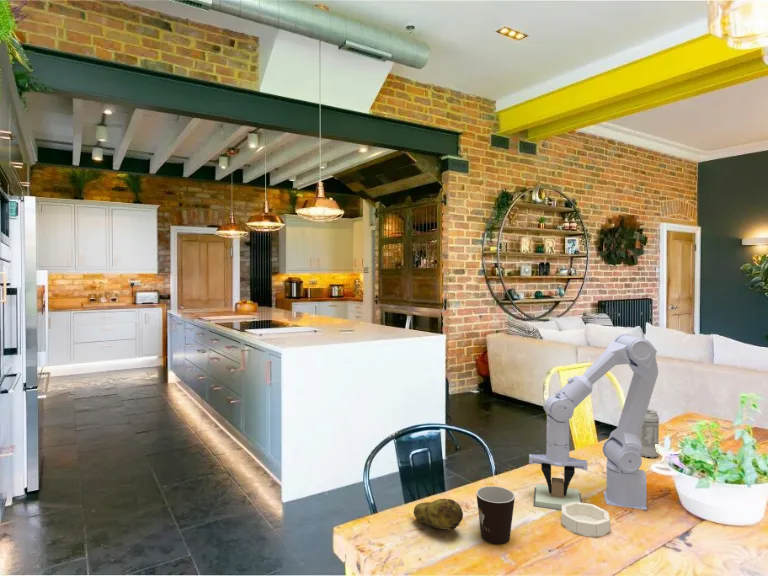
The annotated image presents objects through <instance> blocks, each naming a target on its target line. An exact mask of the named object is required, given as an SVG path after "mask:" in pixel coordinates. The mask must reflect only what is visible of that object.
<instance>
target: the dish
mask: <svg viewBox="0 0 768 576" xmlns="http://www.w3.org/2000/svg"><path fill="white" fill-rule="evenodd" d="M610 519H611V518H610V515H609V512H608V511H607V510H605V509H603V508H602V507H599V506H598V505H595V504H593V503H587V502H586V503H585V502H582V503H580V502H572V503H568V504H565V505H562V511H561V524H562V526H563V527H564V528H565V529H567V531H570V532H572V533H574V534H576V535H579V536H583V537H584V536H585V537H591V538H598V537H602V536H603V537H604V536H606V535H608V533H609V532H611V531H610V530H611V527H610V526H611V520H610Z"/></svg>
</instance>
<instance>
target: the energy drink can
mask: <svg viewBox="0 0 768 576" xmlns="http://www.w3.org/2000/svg"><path fill="white" fill-rule="evenodd" d="M659 417H660V416H659V415H658V411H657V410H655V409H650V408H648V409H647V412H646V415H645V418H644V422H643V425H642V428H641V431H640V435H639V439H640V442H641V445H642V450H641V455H642V456H645V457H651V458H650V459H653V458H652V457H656V458H657V456H659V452H658V453H657V452H656V449H655V444H658V445H659V438H660V437H659V436H660V435H659V428H660V427H659V426H660V425H659V423H660V418H659ZM642 456H641V457H642ZM645 457H644V458H645Z"/></svg>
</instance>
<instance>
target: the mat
mask: <svg viewBox="0 0 768 576" xmlns="http://www.w3.org/2000/svg"><path fill="white" fill-rule="evenodd" d="M533 490H534V492H533V504H532V505H533V506H532V507H534V508H540V509H549V510H555V511H561V512H562V509H555V508H548V507H541V506H535V499H536V486H535V487H534V488H533ZM579 496H580V503H583V501H582V495H581V492H579Z"/></svg>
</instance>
